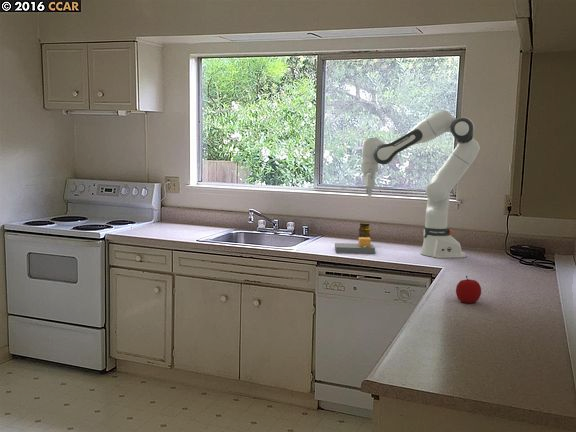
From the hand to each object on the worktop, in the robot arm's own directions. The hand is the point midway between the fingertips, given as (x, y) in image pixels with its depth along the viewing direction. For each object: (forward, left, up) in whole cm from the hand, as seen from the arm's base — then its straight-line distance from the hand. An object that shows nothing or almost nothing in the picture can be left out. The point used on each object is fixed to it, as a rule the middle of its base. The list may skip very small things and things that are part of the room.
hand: (368, 194), depth 326 cm
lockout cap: (+2, +7, -26) cm, 27 cm away
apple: (-28, +99, -29) cm, 107 cm away
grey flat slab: (+7, +7, -29) cm, 31 cm away
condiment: (+1, -12, -29) cm, 32 cm away
